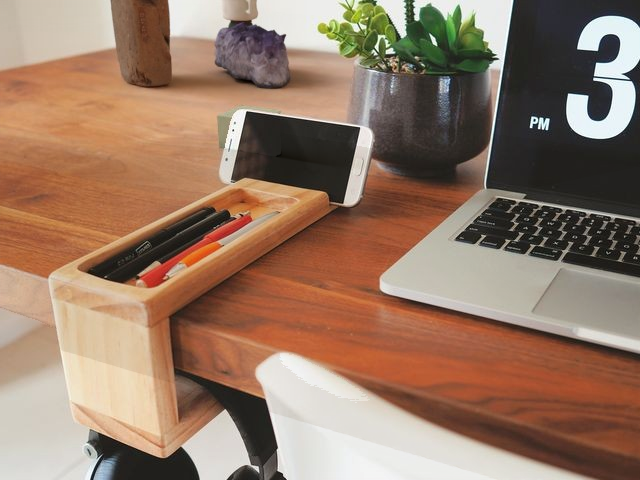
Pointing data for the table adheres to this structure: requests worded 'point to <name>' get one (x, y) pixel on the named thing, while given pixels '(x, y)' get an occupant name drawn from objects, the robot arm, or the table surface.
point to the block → (143, 40)
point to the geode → (253, 55)
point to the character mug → (239, 11)
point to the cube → (226, 117)
